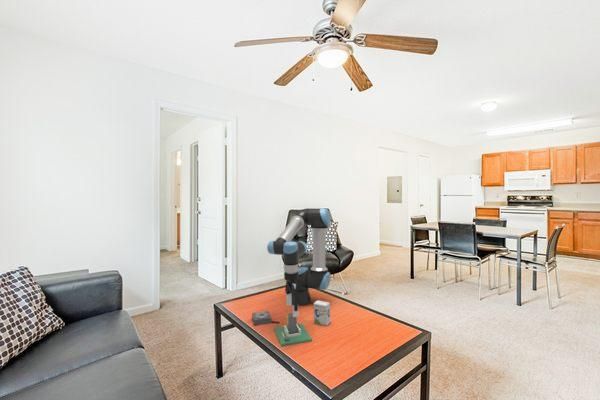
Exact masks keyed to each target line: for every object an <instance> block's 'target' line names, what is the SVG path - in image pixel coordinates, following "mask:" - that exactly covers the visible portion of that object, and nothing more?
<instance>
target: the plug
mask: <svg viewBox="0 0 600 400" xmlns="http://www.w3.org/2000/svg"><path fill="white" fill-rule="evenodd" d="M297 319H298V318H297V317H293V312H288V313H286V324H287V325H286V326H288V331H289V334H295V333H297V324H298V323H297Z"/></svg>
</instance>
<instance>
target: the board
mask: <svg viewBox="0 0 600 400" xmlns="http://www.w3.org/2000/svg"><path fill="white" fill-rule="evenodd" d="M274 332H275V334H276V337H277V339H278V341H279V344H280V346H281V347H286V346H292V345H297V344H304V343H307V342H308V343H309V342H312V341H313V338H312V337H311V335H310V334H309V332H308V331H307V329H306V327H305V326H304V324H303V323H302V322H301V323H297V333H295V334H289V331H288V325H283V326H275V327H274Z"/></svg>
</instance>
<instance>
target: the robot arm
mask: <svg viewBox="0 0 600 400" xmlns="http://www.w3.org/2000/svg"><path fill="white" fill-rule="evenodd" d="M330 213H331V212H330V211H329V209H327V208H322V207H321V208H320V207H319V208H309V207H308V208H307V207H306V208H303V209H300V210H299V211H297V212H296V213H294V215H292V216H291V219H290V222H289V223H288V224H287V225H286V227H284V229H283V230H282V231H281V233H280V234H279V236H278V237H277V238H276V240H271V241H269V242H268V243H267V247H266V249H267V252H268V254H270V255H271V254H272V255H277V256H278V255H279V256H283V266H282V268H283V273H284V275H283V277H284V280H285V289H284V291H285V294H286V296H285V298H286V307H292V313H293V317H299V307H300V306H301V307H303V306H307V305H309V304H311V303H312V297H311V292H310V289H315V290H321V291H322V290H323V291H324V290H325V291H326V290H327V289H328V288H329V286H330V282H331V276H332V275H331V272H330V271H328V270H329V269H328V267H327V266H326V247H327V246H326V241H327V240H326V239H327V238H326V232H327V230H328V229H329V226H331V223H332V217H331V214H330ZM304 226H310V230H312V267H310V270H309V267H308V266H300V267H299V257H301V256H303V255H304V254H305V253H306V252H307V251H308V246H307V244H306V243H305V242H304V241H302V240H299V241H296V242H295V241H292V240H293V238H294V237H295V236H296V235H297V233H298V232H299V230H300V229H301V228H303V227H304Z"/></svg>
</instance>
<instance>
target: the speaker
mask: <svg viewBox="0 0 600 400" xmlns="http://www.w3.org/2000/svg"><path fill="white" fill-rule="evenodd" d="M251 316H252V318H253V319H252V318H251V319H252V322H253V325H254V326H260V325H259V324H261V325H265V324H267V325H268V324H272V323H273V322H272V321H273V320H272V319H273V318H272V316H271V314H270V312H269V310H266V311H259V312H252V313H251Z"/></svg>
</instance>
